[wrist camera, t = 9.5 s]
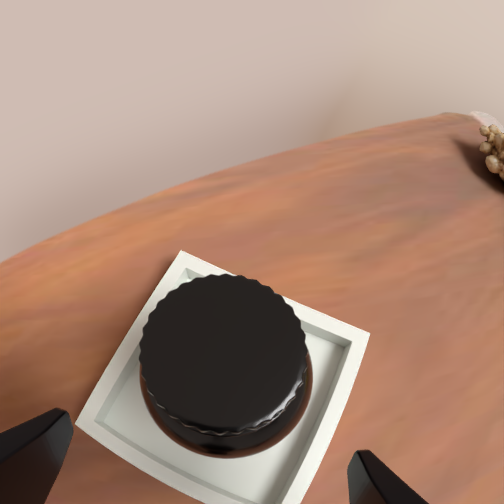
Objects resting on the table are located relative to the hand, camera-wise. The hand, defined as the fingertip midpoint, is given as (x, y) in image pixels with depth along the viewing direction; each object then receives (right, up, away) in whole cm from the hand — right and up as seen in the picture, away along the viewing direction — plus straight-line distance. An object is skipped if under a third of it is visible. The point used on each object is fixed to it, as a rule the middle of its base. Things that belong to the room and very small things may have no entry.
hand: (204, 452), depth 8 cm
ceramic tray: (0, -3, +11) cm, 12 cm away
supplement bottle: (0, -3, +11) cm, 11 cm away
